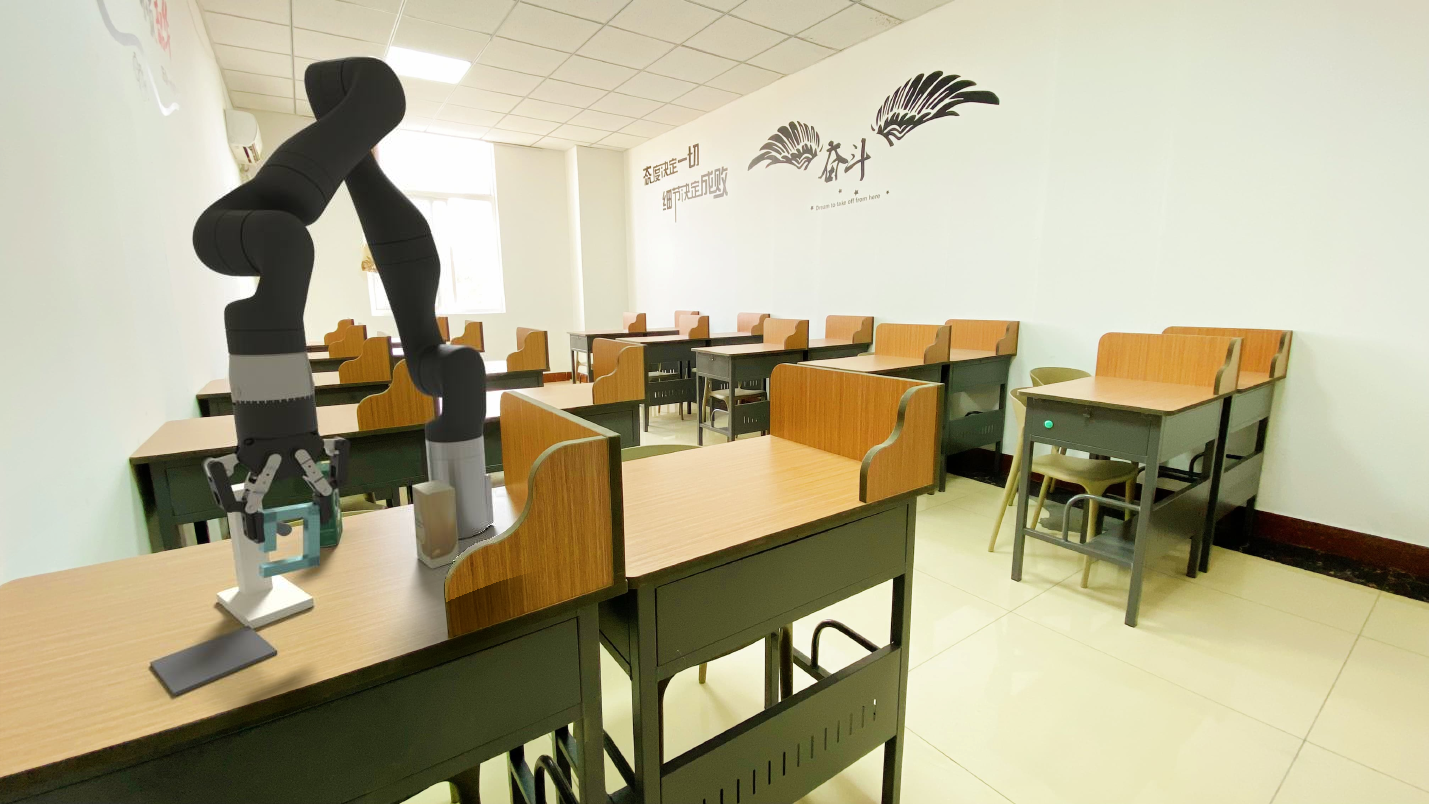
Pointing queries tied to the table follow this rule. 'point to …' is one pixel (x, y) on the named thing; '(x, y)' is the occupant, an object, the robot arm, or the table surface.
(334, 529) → the coffee box
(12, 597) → the table surface
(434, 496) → the skincare box
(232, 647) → the pad
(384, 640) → the table surface
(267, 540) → the c link
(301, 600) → the stand
